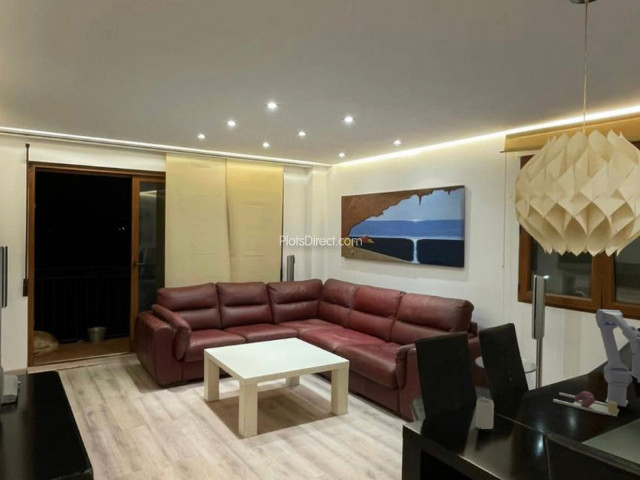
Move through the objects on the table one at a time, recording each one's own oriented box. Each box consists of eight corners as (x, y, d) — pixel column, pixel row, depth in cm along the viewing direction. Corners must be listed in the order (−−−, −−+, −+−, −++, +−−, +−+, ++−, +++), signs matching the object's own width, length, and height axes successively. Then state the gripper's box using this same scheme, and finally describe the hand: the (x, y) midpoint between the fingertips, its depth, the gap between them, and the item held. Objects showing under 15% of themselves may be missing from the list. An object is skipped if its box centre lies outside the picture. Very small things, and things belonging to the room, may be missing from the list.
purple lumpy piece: (590, 412, 197) (598, 399, 196) (580, 406, 198) (589, 393, 197) (581, 403, 207) (589, 391, 206) (572, 398, 207) (580, 386, 207)
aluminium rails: (559, 394, 215) (559, 392, 215) (610, 406, 201) (610, 404, 201) (553, 402, 205) (553, 399, 205) (606, 415, 191) (606, 412, 191)
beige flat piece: (576, 399, 209) (576, 390, 209) (619, 410, 198) (619, 400, 198) (572, 405, 201) (572, 396, 201) (616, 416, 190) (616, 406, 190)
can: (492, 427, 176) (493, 397, 175) (493, 434, 169) (494, 403, 169) (475, 424, 178) (476, 395, 177) (475, 430, 171) (476, 400, 171)
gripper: (628, 358, 199) (626, 388, 200) (629, 366, 187) (628, 397, 188) (647, 361, 196) (646, 391, 196) (650, 369, 183) (648, 401, 184)
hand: (638, 394), depth 191 cm, fingers open, 7 cm apart
